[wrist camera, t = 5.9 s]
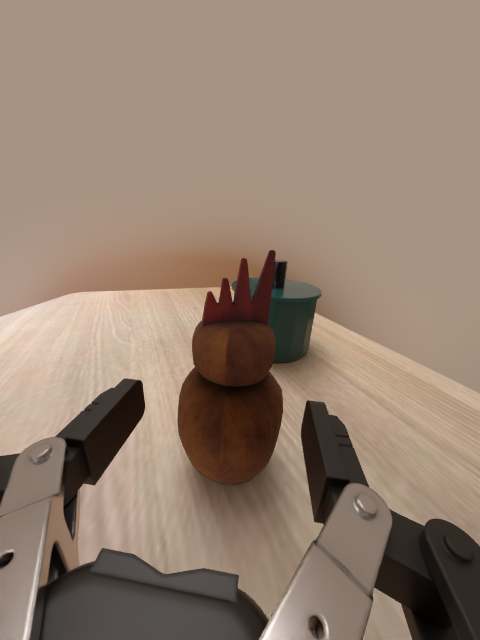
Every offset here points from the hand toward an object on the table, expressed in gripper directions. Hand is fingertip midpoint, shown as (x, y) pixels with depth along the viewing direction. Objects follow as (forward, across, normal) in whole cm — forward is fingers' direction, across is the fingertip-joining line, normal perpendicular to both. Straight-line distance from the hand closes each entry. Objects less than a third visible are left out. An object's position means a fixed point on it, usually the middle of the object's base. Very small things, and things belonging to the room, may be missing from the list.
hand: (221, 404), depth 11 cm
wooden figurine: (+4, 0, -8) cm, 9 cm away
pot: (+24, +3, -8) cm, 25 cm away
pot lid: (+24, +3, 0) cm, 24 cm away
